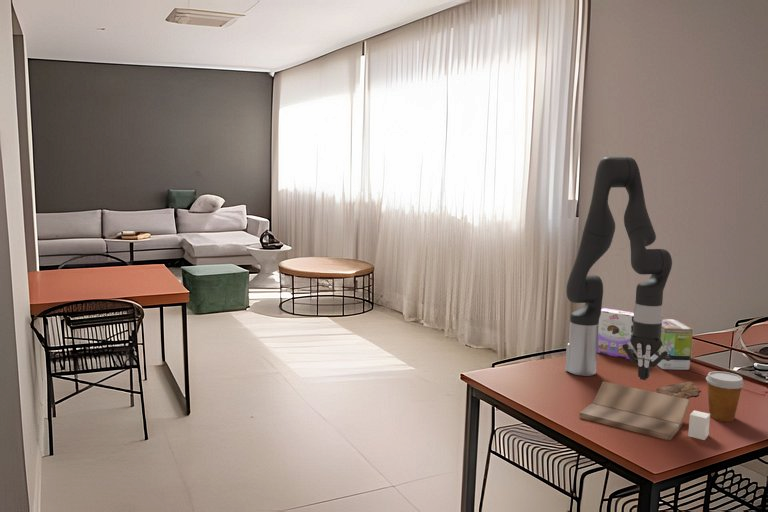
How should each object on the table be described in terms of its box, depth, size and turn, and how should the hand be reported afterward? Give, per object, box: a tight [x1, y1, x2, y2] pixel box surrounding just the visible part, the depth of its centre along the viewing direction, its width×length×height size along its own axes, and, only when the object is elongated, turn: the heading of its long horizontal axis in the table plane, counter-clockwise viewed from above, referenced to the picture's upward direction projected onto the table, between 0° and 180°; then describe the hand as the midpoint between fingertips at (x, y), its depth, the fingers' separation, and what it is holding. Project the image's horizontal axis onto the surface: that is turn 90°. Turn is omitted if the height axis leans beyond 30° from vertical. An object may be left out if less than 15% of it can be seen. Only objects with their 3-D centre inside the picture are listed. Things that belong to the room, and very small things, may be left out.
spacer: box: [687, 409, 711, 441], centre depth 174 cm, size 4×4×6 cm
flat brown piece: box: [656, 381, 702, 400], centre depth 208 cm, size 26×11×1 cm, turn 135°
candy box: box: [597, 307, 638, 360], centre depth 246 cm, size 14×6×16 cm, turn 47°
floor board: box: [579, 403, 681, 441], centre depth 182 cm, size 24×10×2 cm, turn 52°
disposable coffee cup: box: [705, 370, 745, 422], centre depth 187 cm, size 10×10×12 cm
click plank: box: [592, 381, 690, 429], centre depth 189 cm, size 24×9×2 cm
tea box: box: [652, 318, 694, 371], centre depth 236 cm, size 15×10×15 cm, turn 179°
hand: (643, 379), depth 190 cm, fingers closed
